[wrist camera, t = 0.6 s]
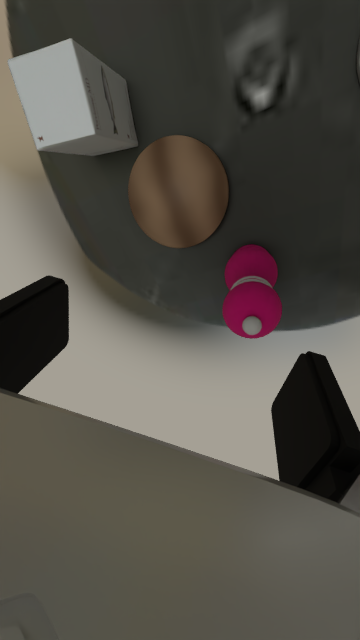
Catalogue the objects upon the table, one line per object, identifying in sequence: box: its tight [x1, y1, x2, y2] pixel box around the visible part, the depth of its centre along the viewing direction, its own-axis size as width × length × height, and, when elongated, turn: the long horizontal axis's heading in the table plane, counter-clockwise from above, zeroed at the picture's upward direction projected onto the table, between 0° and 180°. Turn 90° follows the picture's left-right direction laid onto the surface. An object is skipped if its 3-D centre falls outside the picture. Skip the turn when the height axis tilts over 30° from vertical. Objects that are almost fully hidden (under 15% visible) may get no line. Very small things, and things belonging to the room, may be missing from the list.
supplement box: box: [8, 38, 138, 156], centre depth 31 cm, size 7×7×13 cm
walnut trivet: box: [128, 135, 229, 248], centre depth 38 cm, size 14×14×2 cm
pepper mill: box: [223, 244, 282, 338], centre depth 33 cm, size 7×7×20 cm
